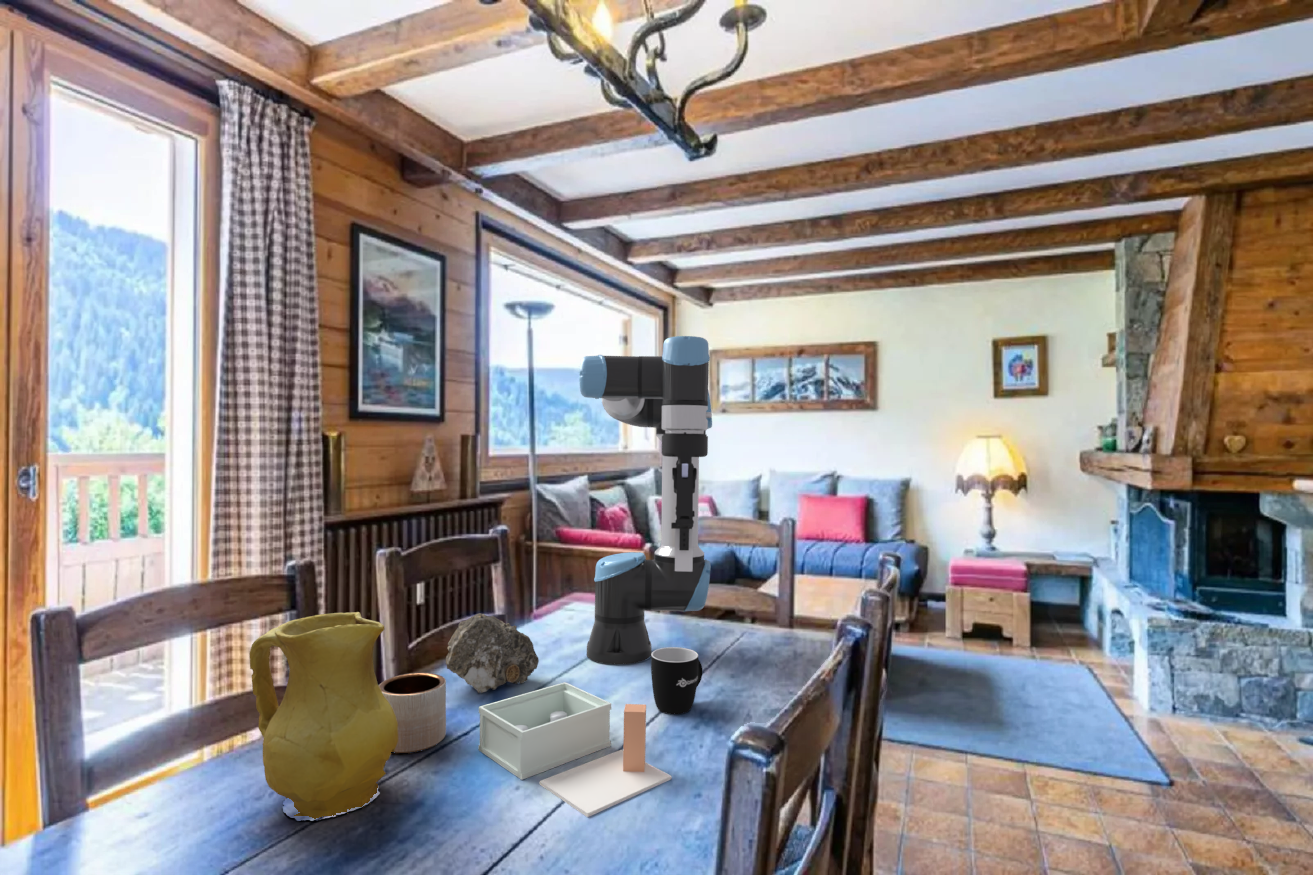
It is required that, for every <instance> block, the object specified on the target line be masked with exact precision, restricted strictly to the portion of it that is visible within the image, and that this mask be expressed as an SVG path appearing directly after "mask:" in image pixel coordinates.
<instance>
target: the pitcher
mask: <svg viewBox="0 0 1313 875" xmlns="http://www.w3.org/2000/svg"><path fill="white" fill-rule="evenodd" d="M384 631H385V625H384V624H383V623H381V621H380V622H379V621H376V620H371V619H366V618H363V617H362V615H361V612H359V611H356V612H353V611H351V612H334V613H333V612H331V613H324V614H323V613H322V614H315V615H312V616H306V617H302V618H301V617H300V618H297V619H296V618H295V619H293V620H289V621H287V622H285V623H283V624H280V625H278V627H273V628H272V629H270V630H268V631H267V632H266V633H265V634H262V635H261V636H259V637H258V638H257V639H255V640H254V641H253V642H252V644H251V646H250V650H249V655H248V656H249V657H248V658H249V669H250V670H252V674H251V686H252V687H251V688H252V693H253V696H255V708H256V710H257V712H258V713H259V715H258V730H259V732H260V733H261V735H262V738H263V740H262V763H263V764H262V765H263V768H264V777H265V782H266V784H267V786H268V787H269V788H270V789H271V790H272V791H274V792H275V793H276V794H277V795H279V796H281V797H284V798H285V799H286V798H289V799H291V800H292V801H293V802H294V807H295V808H296V809H297V810H298V812H300V813H298V814H296V815H294V816H309V817H312V818H314V819H316V818H319V817H322V816H323V817H324V816H332V815H333V816H334V815H336V813H341V812H347V809H349V810H350V809H351V808H355V807H362V806H363V805H364V804H365V803H368V802H369V801H370V798H372V797H373V795H374V794H376V793H377V788H378V784H377V783H378V782H379V781H380V780H381V779H382V778H383V777H384V776H385V775H386V774H387V773H386V771H385V770H384V769H385V766H386V764H387V761H389V760H390V757H391V755H392V753H391V752H394V750H395V748H396V745H397V743H398V723H397V720H396V716H395V714H394V711H393V708H392V707H391V705H390V704H389V702H388V701H387V699H386V698H385V697H384V695H383V693H382V691H381V689H380V687H379V684H378V681H377V676H376V673H375V668H374V646H375V644H376V641H377V639H378V637H379V636H380V635H381V634H382V633H383V632H384ZM271 647H275V648H279V649H280V650H281V651H282V653H283V655H284V656H285V658H286V660H287V664H288V668H289V669H288V670H289V671H288V672H289V673H288V679H287V684H286V688H285V692H284V695H283V698H282V700H281V702H280V704H279V702H278V701H279V700H278V698H277V693H276V689H275V685H274V679H273V675H272V670H271V664H270V663H271V662H270V660H271V659H270V658H271V656H270V655H271ZM376 782H377V783H376Z"/></svg>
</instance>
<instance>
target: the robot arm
mask: <svg viewBox="0 0 1313 875" xmlns="http://www.w3.org/2000/svg"><path fill="white" fill-rule="evenodd" d="M662 348H663V349H662V355H661V356H660V355H656V356H655V355H651V356H650V355H648V356H647V355H645V356H644V355H641V356H640V355H639V356H637V355H636V356H633V355H630V356H629V355H628V356H627V355H603V354H598V355H585V356H583V358H581V359H580V364H579V372H578V373H579V374H578V375H579V378H578V379H579V380H578V382H579V390H580V394H581V396H582V397H583V398H589V399H596V400H599V399H601V403H602V407H603V409H604V410H605V412H606V413H607V414H608V415H609V416H610V417H612V419H615V420H616V421H619V422H621V423H623V424H626V425H628V426H629V425H630V426H632V427H633V426H634V427H640V428H654V429H655V436H656V437H657V438H658V439H659V440H660V441H661V455H662V457H661V530H660V531H661V532H660V533H661V537H660V538H661V540H660V543H661V544H660V546H659V547H657V549H656V550H655V551H654V559H647V557H646V554H645V553H644V552H635V551H631V552H621V553H615V554H611V555H606V556H604V557H602V558H600V559H599V560H598V561H597V562H596V565H595V574H594V579H593V580H594V582H595V583H594V588H595V589H594V622H593V626H592V629H591V632H590V636H589V640H588V642H587V644H586V657H587V658H588V659H589V660H591V661H593V662H595V663H600V664H604V665H616V666H617V665H618V666H619V665H631V664H632V665H633V664H637V663H641V662H644V661H647V660H648V659H651V654H652V652H653V651H652V649H653V648H652V643H651V641H650V636H649V633H648V630H647V629H648V628H647V626H646V623H645V613H646V612H645V611H661V612H663V611H664V612H683V613H686V612H691V611H692V612H693V611H694V612H695V611H696V612H697V611H701V610H702V609H703V608H704V607H705V606H706V602H707V598H708V592H709V588H710V587H709V586H710V578H711V568H712V567H711V561H709V560H707V559H705V552H704V551H703V550H702V549H701V548H700V547H699V493H700V492H699V491H700V490H699V487H700V486H699V484H700V479H699V478H700V475H699V474H700V471H699V470H700V458H704V457H706V456H708V454H709V452H708V450H709V449H708V448H709V436H707V433H706V431H707V430H709V429H712V427H713V418H712V416H713V414H712V413H713V412H712V404H711V398H710V396H711V395H710V391H709V381H710V380H709V378H710V377H709V375H710V374H709V373H710V372H709V371H710V370H709V369H710V368H709V367H710V358H711V357H710V353H709V352H710V351H709V341H708V340H707V339H706V338H704V337H700V336H694V335H693V336H692V335H691V336H690V335H681V336H680V335H679V336H670V337H668V338H666V339H665V340H664V342H663V346H662Z"/></svg>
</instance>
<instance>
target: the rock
mask: <svg viewBox="0 0 1313 875" xmlns="http://www.w3.org/2000/svg"><path fill="white" fill-rule="evenodd" d="M457 626H458V627H457V628H456V629H455V631H454V632H453V634H452V636H451V638H450V640H449V641H448V643H447V645H448V646H447V650H448V653H447V654H446V657H445V665H446V669H447V670H449V671H451V673H453V674H456V675H457V676H458V677H459V678H461V679H463V680H464V681H465V683H466V684H467V685H469V686H471V687H473V689H475V690H476V692H477V693H478V694H482V693H487V691H488V690H490V689H491V690H492V691H494V690H496V689H497V688H498V687H500V686H502V685H505V684H506V683H507V682H509V683H512V684H514V685H515V684H517V685H518V684H520V685H522V684H524V683H525V682H527V681H528V680H529V679H528V678H529V677H530V676H531V674H533V673H534V671H535V670H536V669H537V668H538V667H539V666H538V665H539V661H540V659H539V657H538V655H537V653H536V651H535V649H534V643H533V641H532V640H531V638H530V637H529V635H527V634H524V633H523V632H520V631H519V630H517V628H518V626H517V625H511V623H510V622H508V623H505V622H504V621H503V620H501V619H498V618H497V617H496V616H493V615H491V616H489V615H487V614H484V613H480V612H479V613H476V614H474V615H473V616H472V615H471V617H469V618H468V619H465V620H461V621H460V622H459V623H458V625H457Z"/></svg>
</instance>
